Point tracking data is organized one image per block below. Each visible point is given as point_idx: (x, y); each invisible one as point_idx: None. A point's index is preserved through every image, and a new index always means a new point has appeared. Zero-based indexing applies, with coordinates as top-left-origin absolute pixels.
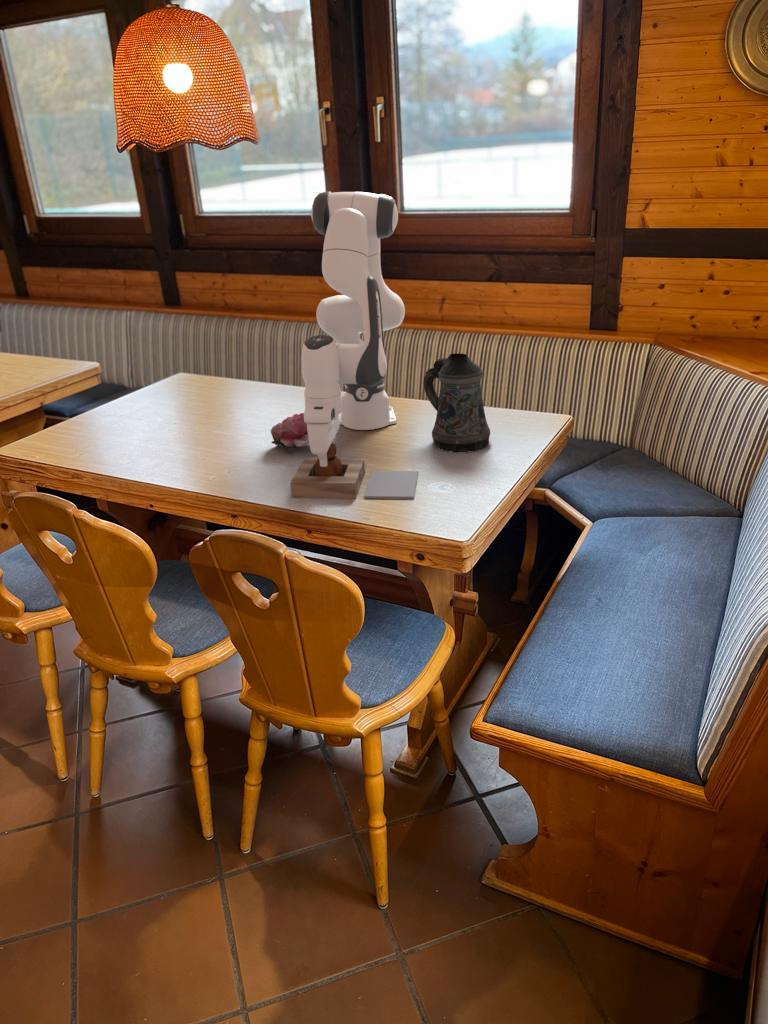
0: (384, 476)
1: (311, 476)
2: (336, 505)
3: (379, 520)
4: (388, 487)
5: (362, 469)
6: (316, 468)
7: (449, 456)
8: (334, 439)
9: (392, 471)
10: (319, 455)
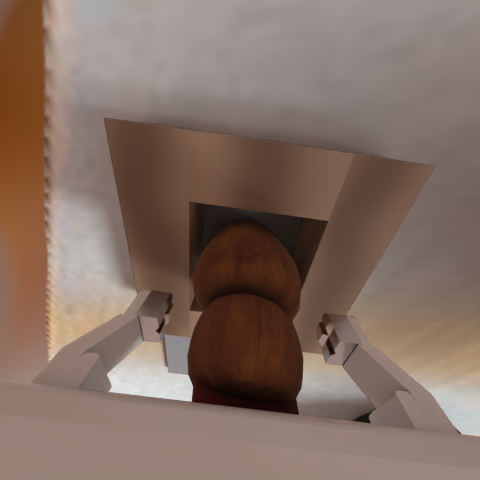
0: None
1: (186, 217)
2: (116, 260)
3: (71, 325)
4: None
5: None
6: (213, 248)
7: (342, 412)
8: (369, 399)
9: None
10: (73, 350)
